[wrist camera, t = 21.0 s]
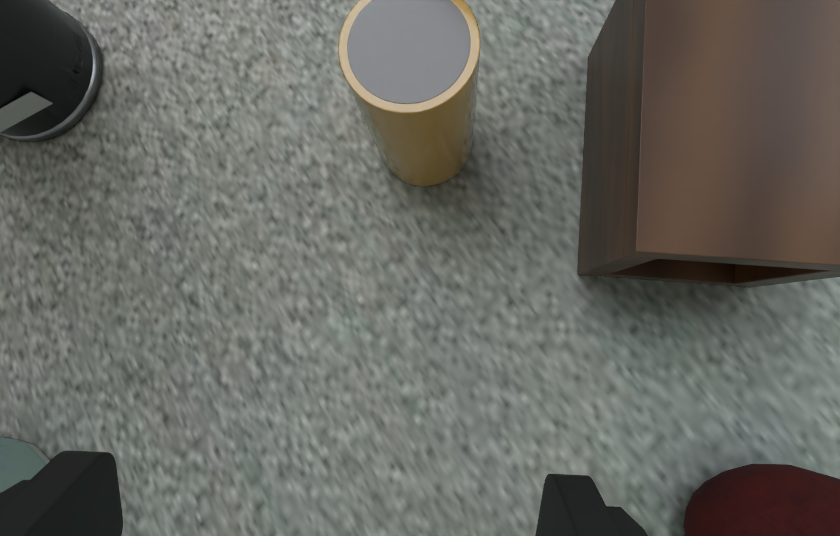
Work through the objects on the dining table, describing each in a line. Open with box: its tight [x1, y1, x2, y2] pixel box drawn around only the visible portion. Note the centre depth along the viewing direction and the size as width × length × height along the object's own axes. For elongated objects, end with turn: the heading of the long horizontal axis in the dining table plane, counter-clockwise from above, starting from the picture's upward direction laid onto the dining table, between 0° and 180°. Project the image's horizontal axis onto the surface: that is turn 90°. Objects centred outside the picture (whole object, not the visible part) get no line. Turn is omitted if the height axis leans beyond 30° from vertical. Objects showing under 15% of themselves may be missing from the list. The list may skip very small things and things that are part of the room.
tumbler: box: [338, 0, 480, 186], centre depth 26 cm, size 6×6×11 cm
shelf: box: [577, 0, 840, 287], centre depth 25 cm, size 10×14×10 cm
